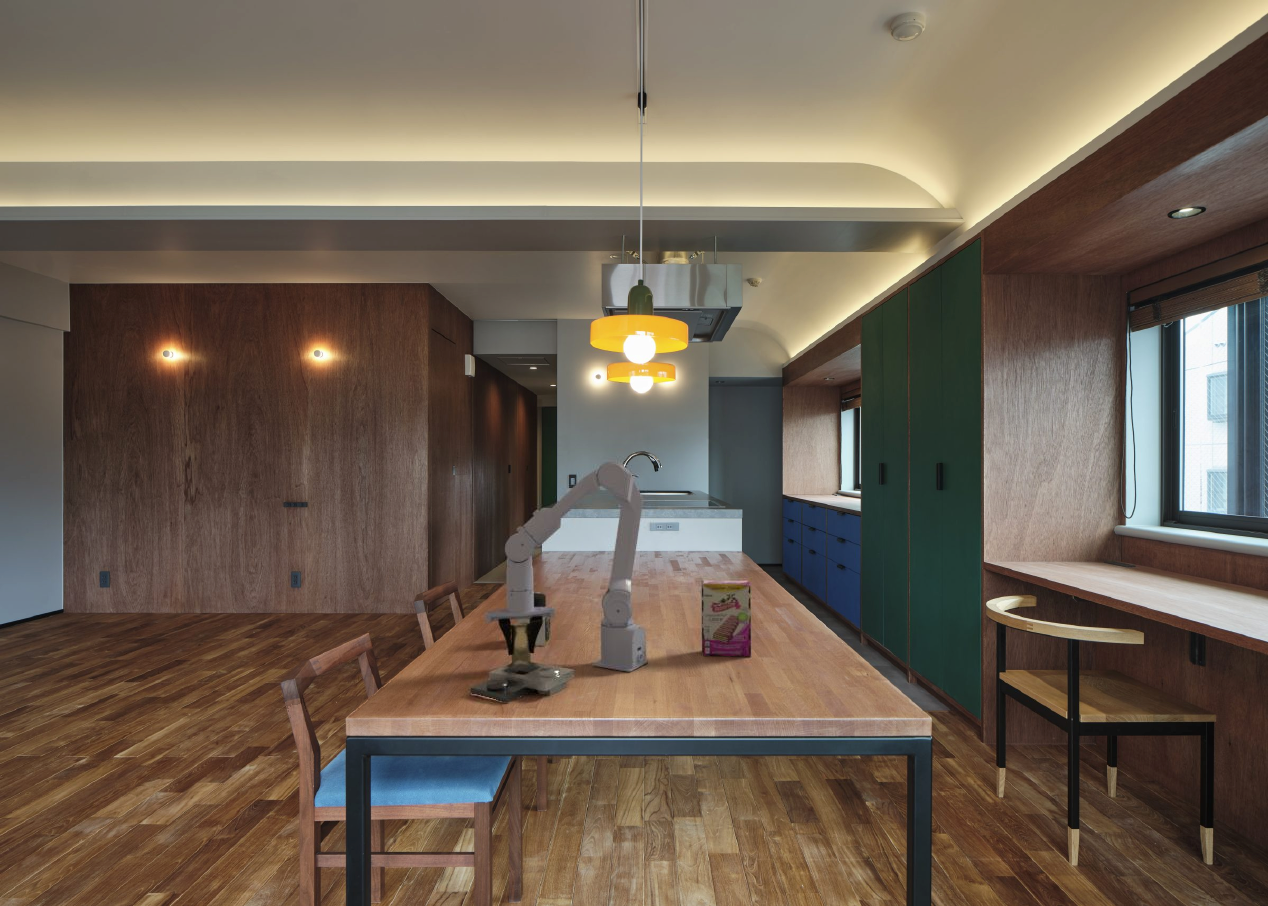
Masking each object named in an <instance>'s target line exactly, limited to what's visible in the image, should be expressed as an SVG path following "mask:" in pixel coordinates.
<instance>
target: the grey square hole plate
mask: <svg viewBox="0 0 1268 906" xmlns="http://www.w3.org/2000/svg"><path fill="white" fill-rule="evenodd" d="M518 671H524V672H529V673H527V674H525V675H520V674H515V673H516V672H518ZM573 678H575V669H571V668H567V667H561V666H556V665H549V664H544V663H539V662H538V663H537V662H532V661H531V662H527V661H521V660H518V661H516V662H513V663H512V662H510V663H509V664H506V665H503V666H501V667H498V668H496V669H493V670H491V671H488V680H507V681H508V684H512V685H517V686H522V687H527V688H532V689H536V691H537V694H540V693H541V695H545V694H546V695H545V696H552V695H554V694H556V693H558V692H560V691H562V690H565V689H566V688H567V681H569V680H572V679H573Z"/></svg>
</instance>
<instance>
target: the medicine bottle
mask: <svg viewBox="0 0 1268 906" xmlns="http://www.w3.org/2000/svg"><path fill="white" fill-rule="evenodd" d="M546 600H547V597H546V594H544V593H542V592H534V607H547V601H546ZM521 622H525V623H530V618H529V619H516V623H521ZM550 639H551V618H550V617H543V624H542V627H541V629H540V631H539V633H538V636H537V639H536V643H535V647H545V646H547V644H548V643H549V641H550Z"/></svg>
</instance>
